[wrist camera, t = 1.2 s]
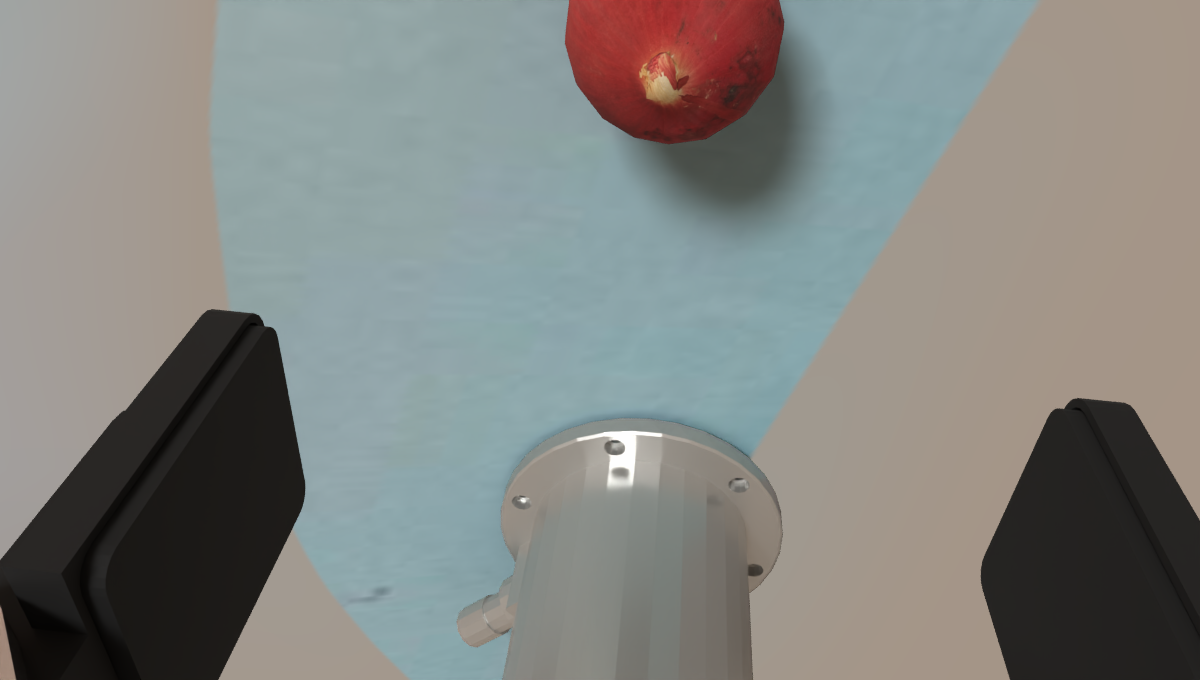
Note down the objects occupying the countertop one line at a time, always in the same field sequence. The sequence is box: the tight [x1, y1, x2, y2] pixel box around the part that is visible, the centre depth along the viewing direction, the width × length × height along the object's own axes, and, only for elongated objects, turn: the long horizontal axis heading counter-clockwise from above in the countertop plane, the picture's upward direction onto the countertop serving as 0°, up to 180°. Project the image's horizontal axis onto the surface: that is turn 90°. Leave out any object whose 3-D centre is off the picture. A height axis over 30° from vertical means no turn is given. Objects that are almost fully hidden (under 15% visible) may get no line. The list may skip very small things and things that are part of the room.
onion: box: [565, 0, 784, 144], centre depth 24 cm, size 6×6×8 cm
